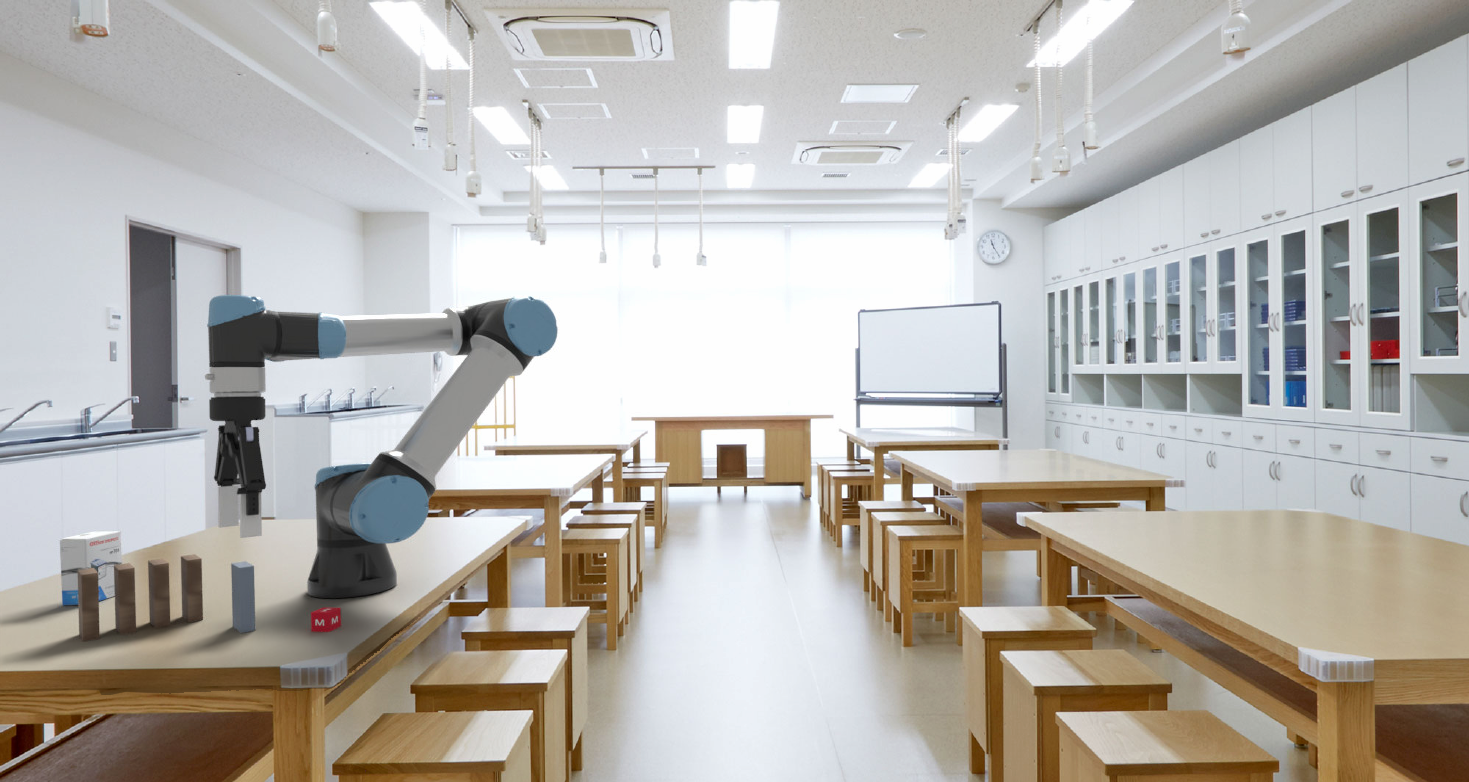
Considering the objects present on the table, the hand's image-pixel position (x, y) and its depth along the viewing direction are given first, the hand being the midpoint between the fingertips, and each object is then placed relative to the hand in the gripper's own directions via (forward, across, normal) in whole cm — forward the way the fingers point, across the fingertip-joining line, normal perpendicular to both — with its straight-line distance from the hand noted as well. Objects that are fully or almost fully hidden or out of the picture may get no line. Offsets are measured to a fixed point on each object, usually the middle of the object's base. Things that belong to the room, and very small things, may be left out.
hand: (239, 531), depth 130 cm
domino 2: (+15, -13, -8) cm, 22 cm away
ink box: (+16, -41, -14) cm, 46 cm away
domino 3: (+15, -13, -4) cm, 20 cm away
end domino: (+15, -13, -18) cm, 27 cm away
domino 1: (+15, -13, -13) cm, 24 cm away
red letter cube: (+15, +10, +10) cm, 21 cm away
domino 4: (+15, 0, 0) cm, 15 cm away
